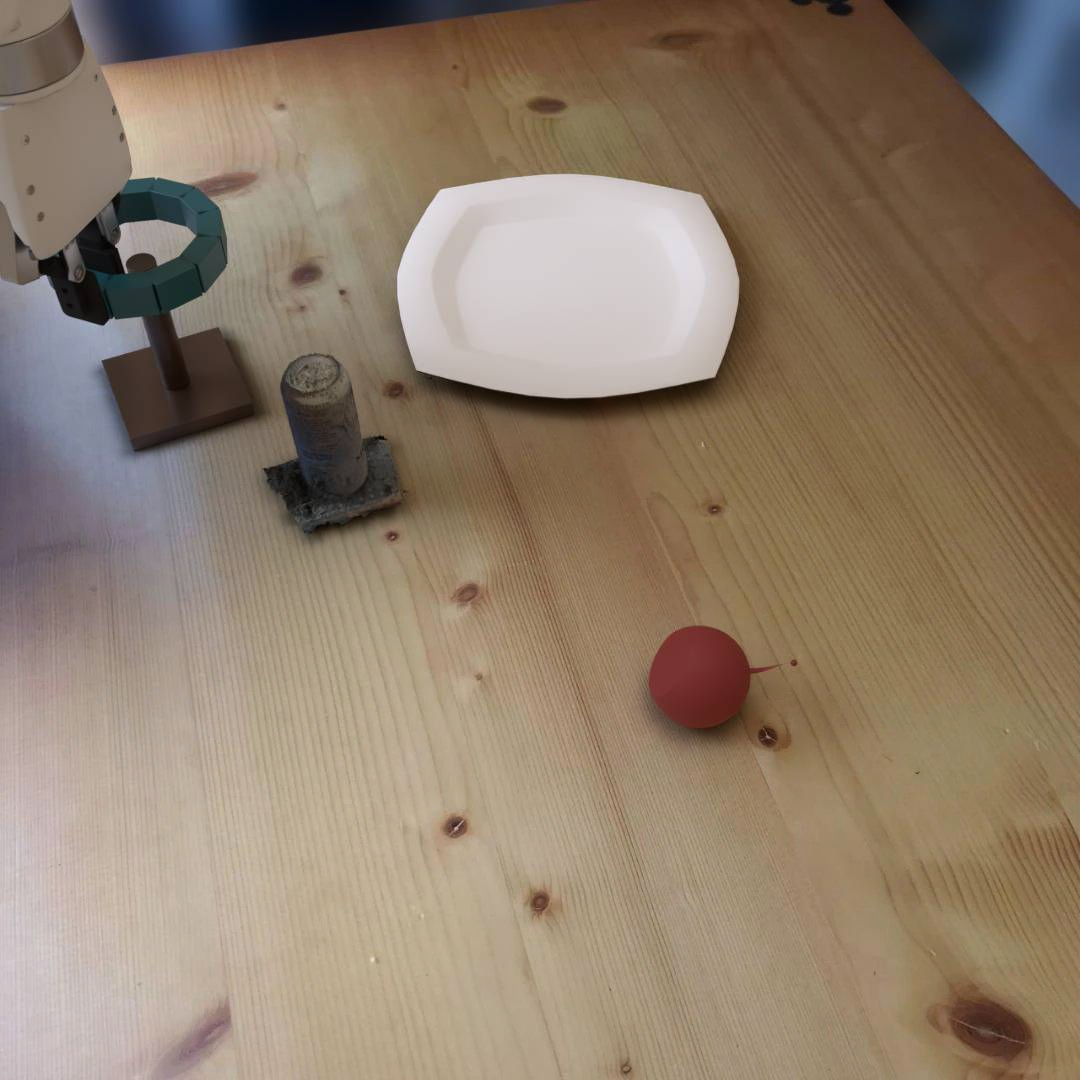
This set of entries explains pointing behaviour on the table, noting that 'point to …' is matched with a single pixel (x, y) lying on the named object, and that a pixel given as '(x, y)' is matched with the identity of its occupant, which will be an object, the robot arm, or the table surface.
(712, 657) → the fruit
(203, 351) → the post
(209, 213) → the ring
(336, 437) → the can on ragged base
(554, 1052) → the table surface
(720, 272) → the plate
